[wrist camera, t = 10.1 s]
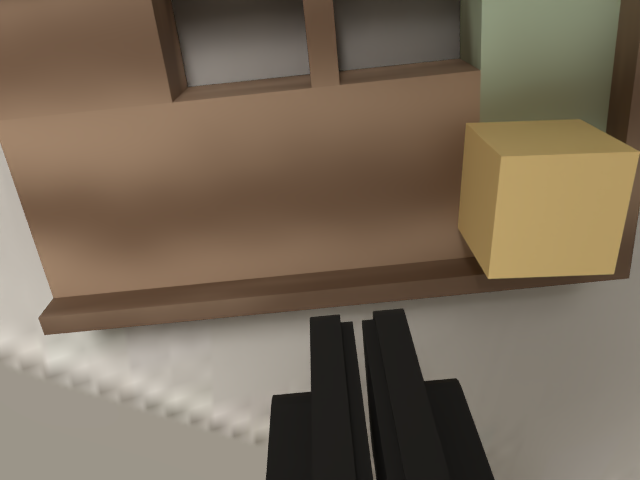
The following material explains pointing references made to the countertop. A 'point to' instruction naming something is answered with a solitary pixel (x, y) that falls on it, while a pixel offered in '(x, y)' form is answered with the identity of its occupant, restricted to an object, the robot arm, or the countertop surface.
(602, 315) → the countertop surface
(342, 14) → the countertop surface
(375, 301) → the box
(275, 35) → the countertop surface
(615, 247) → the block
